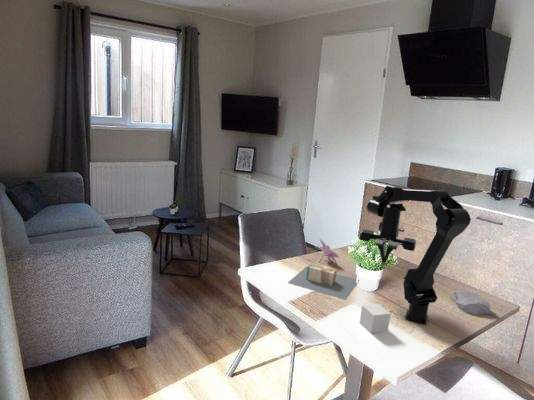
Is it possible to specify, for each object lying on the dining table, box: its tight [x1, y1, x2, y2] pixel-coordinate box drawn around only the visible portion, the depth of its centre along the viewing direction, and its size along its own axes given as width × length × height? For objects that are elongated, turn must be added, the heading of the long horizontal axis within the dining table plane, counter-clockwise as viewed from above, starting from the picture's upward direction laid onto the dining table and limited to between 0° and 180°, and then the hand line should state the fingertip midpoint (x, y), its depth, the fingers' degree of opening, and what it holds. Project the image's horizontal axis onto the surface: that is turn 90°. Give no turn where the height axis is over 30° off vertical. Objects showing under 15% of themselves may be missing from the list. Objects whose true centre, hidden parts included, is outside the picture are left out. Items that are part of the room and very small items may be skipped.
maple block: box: [306, 262, 338, 286], centre depth 147 cm, size 5×5×10 cm
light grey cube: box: [359, 303, 391, 334], centre depth 118 cm, size 6×6×6 cm
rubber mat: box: [287, 265, 358, 300], centre depth 147 cm, size 20×22×1 cm
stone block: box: [451, 290, 491, 315], centre depth 138 cm, size 12×5×10 cm
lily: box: [318, 238, 340, 264], centre depth 167 cm, size 12×12×10 cm
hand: (383, 262), depth 140 cm, fingers closed
